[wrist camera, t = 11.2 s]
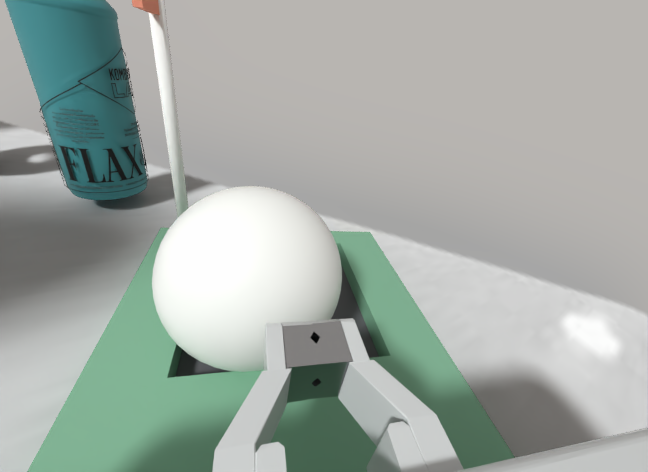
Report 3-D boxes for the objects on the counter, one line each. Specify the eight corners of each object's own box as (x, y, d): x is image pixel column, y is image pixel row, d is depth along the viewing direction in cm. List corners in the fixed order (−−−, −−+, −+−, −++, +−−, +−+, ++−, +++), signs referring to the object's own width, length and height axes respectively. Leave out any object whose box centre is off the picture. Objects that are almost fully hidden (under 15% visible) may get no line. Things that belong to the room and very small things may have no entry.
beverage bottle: (63, 219, 24) (-74, -142, 14) (80, 188, 29) (-12, -94, 18) (152, 213, 27) (94, -88, 16) (153, 186, 32) (109, -59, 21)
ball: (286, 120, 10) (399, 339, 10) (295, 179, 19) (355, 295, 19) (51, 233, 10) (171, 467, 10) (174, 239, 18) (236, 359, 18)
